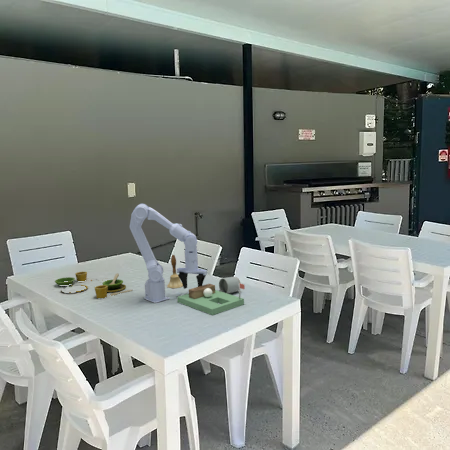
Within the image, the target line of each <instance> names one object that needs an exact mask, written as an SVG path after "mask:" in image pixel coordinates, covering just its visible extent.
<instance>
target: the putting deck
mask: <svg viewBox="0 0 450 450" xmlns="http://www.w3.org/2000/svg"><path fill="white" fill-rule="evenodd" d="M245 286H246V285H245V284H243V283H241V282H240V283H239V291H238V296H236V295H233V294H231V293H230V294H227V293H224V292H221V291H220V290H217V289H215V293H213V294H212V296H210V297H205V296H203V297H200V298H197V299H193V298H190V297H189V292H188V293H185V294H183V295H182V294H181V295H179V296H177V297H176V299H177V303H179V304H182V305H185V306H187V307H190V308H192V309H195V310H198V311H200V312H202V313H205V314H209V315H211V316H215V315H218V314H220V313H224V312H226V311H229V310H232V309H234V308H237V307H240V306H243V305H245V298H243V297H241V289H242V290H245Z"/></svg>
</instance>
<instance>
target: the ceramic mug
mask: <svg viewBox="0 0 450 450" xmlns="http://www.w3.org/2000/svg"><path fill="white" fill-rule="evenodd" d="M239 283H240V284H241V281H240V279H239V278H238V277H237V276H227V277H221V278H220V279H219V281H218V289H219V291H220V292H224V293H227V294H230V295H231V294H233V293H237V292H239Z"/></svg>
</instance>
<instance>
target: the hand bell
mask: <svg viewBox="0 0 450 450" xmlns="http://www.w3.org/2000/svg"><path fill="white" fill-rule="evenodd" d="M170 263H171V267H172V274H171V275H170V277H169V278H170V279H169V282H168V283H167V286H166V287H167V288H169V289H181V288H182V287H183V284H182V282H181V280H180V278H179V276H178V273H177V268H176V267H177V258H176V256H175V254H172V255H171V259H170ZM183 288H184V287H183Z"/></svg>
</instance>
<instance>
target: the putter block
mask: <svg viewBox="0 0 450 450" xmlns="http://www.w3.org/2000/svg"><path fill="white" fill-rule="evenodd" d="M206 288H210V289H211V290H212V294H213V293H215V290H216V284H212V283H206V284H202V286H199V287H198V286H197V287H193V288H189V289H188V293H189V297H190V298H193V299H197V298H200V297H203V296H204V294H203V292H204V290H205V289H206Z"/></svg>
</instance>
